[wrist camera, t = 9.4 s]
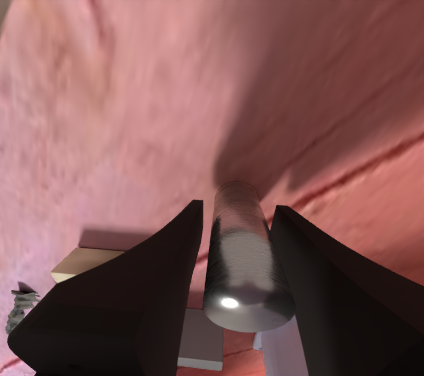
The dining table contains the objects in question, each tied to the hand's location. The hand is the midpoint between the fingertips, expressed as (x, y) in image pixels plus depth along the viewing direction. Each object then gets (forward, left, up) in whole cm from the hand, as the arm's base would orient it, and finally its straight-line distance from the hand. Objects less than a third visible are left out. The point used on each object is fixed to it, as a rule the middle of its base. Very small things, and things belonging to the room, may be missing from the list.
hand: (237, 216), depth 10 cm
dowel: (0, 0, -2) cm, 2 cm away
